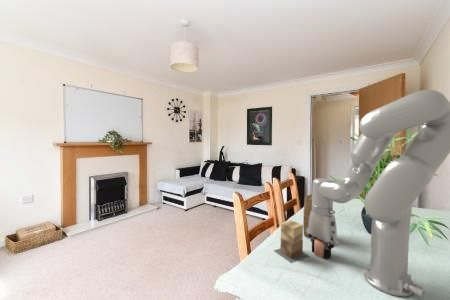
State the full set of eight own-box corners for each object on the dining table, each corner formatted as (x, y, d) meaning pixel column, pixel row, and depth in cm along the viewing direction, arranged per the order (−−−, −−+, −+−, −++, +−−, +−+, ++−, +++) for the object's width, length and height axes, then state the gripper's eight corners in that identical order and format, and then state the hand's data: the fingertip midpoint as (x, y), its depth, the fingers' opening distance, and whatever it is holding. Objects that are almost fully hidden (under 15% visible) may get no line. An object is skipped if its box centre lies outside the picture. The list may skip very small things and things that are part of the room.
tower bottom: (302, 255, 84) (302, 240, 84) (291, 258, 82) (291, 243, 81) (291, 248, 90) (291, 234, 89) (280, 251, 87) (280, 237, 87)
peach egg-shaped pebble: (330, 257, 84) (331, 242, 84) (322, 260, 82) (322, 244, 81) (319, 251, 88) (320, 237, 88) (311, 254, 86) (311, 239, 86)
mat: (310, 257, 84) (310, 256, 83) (291, 264, 79) (291, 262, 79) (291, 246, 92) (291, 245, 92) (273, 251, 88) (273, 250, 88)
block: (316, 242, 96) (317, 198, 95) (301, 236, 101) (302, 195, 101) (327, 236, 102) (328, 194, 102) (313, 230, 108) (314, 191, 107)
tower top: (302, 239, 85) (302, 224, 85) (293, 243, 81) (293, 228, 81) (289, 234, 90) (290, 220, 89) (280, 238, 86) (280, 223, 86)
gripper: (348, 215, 78) (347, 263, 79) (311, 203, 93) (310, 243, 94) (335, 218, 75) (334, 268, 76) (298, 205, 90) (297, 247, 91)
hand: (320, 254), depth 85 cm, fingers closed on peach egg-shaped pebble, 4 cm apart
